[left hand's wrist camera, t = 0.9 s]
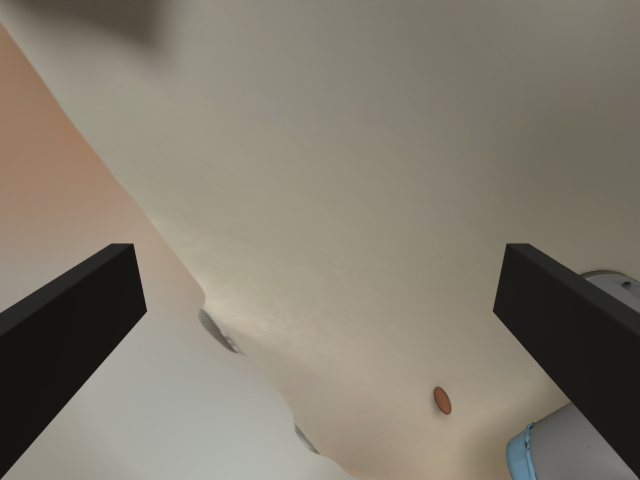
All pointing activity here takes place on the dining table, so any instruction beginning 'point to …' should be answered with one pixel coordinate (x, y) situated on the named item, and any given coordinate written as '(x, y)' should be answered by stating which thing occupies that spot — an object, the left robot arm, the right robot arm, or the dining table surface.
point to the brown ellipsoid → (442, 400)
